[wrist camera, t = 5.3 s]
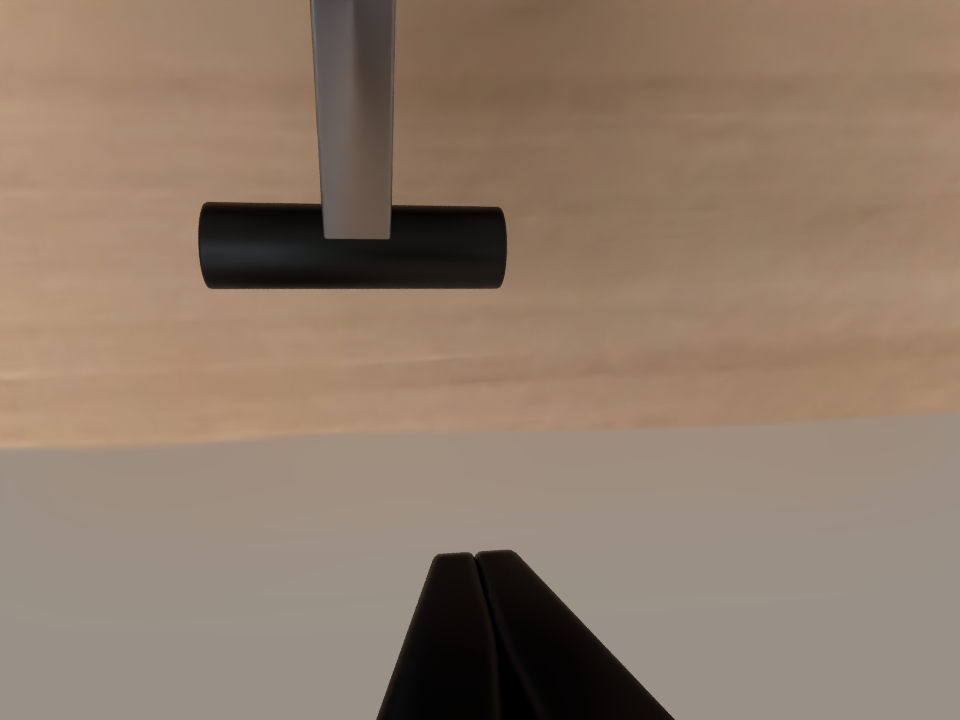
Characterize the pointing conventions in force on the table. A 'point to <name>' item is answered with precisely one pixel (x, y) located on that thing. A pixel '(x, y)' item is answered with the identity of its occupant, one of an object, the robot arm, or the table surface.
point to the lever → (352, 190)
